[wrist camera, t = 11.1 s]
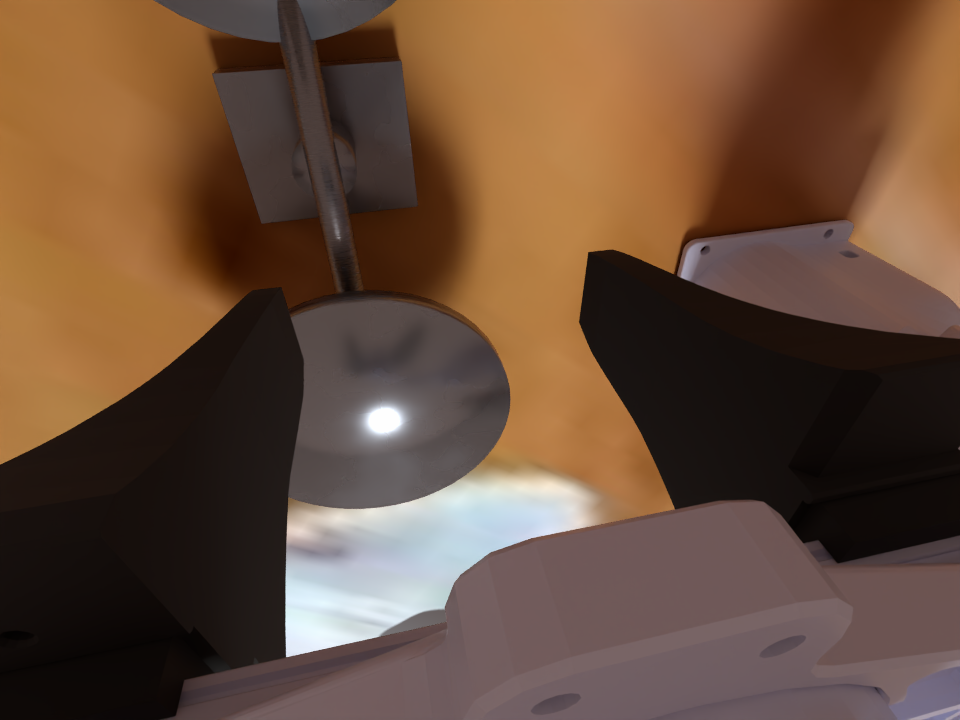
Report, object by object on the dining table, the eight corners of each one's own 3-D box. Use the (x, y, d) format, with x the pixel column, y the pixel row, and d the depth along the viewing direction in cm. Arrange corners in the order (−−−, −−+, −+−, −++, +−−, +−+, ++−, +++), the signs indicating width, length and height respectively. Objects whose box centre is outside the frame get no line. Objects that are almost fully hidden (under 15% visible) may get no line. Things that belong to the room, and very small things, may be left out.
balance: (442, -635, 10) (529, -1180, 5) (482, 395, 28) (509, 482, 23) (-193, -722, 8) (-894, -1617, 4) (284, 429, 27) (271, 529, 22)
